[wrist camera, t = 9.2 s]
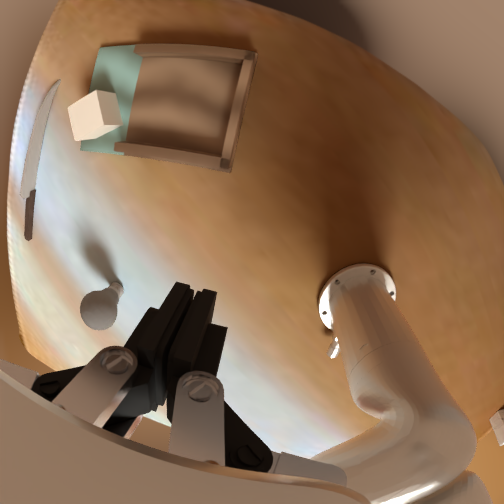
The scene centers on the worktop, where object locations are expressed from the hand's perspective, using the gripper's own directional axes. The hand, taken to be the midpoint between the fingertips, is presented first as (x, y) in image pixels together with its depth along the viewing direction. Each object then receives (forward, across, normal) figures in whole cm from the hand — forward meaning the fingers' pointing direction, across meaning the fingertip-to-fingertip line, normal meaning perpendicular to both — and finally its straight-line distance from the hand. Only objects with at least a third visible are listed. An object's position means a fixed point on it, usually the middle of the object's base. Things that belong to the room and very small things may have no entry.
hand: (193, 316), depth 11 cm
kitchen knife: (+27, +37, +1) cm, 46 cm away
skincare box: (+29, -110, +52) cm, 125 cm away
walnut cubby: (+26, +14, -10) cm, 32 cm away
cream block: (+26, +22, -7) cm, 34 cm away
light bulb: (+27, +18, +20) cm, 38 cm away
